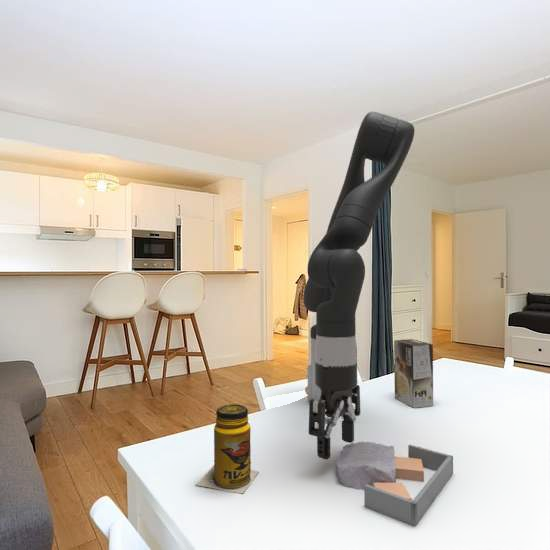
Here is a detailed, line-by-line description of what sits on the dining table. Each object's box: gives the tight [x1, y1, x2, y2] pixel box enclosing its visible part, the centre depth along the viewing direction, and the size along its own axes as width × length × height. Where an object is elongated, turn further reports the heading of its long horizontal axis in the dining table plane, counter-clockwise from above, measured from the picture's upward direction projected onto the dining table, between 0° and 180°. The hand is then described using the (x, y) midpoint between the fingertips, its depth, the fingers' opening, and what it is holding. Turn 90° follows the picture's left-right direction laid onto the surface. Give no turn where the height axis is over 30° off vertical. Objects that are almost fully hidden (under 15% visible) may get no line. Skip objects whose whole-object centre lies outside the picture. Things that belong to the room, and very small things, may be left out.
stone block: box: [335, 441, 397, 491], centre depth 69 cm, size 12×5×10 cm
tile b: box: [394, 455, 425, 483], centre depth 68 cm, size 4×4×2 cm
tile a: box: [373, 481, 413, 500], centre depth 60 cm, size 4×4×2 cm
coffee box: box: [393, 338, 434, 409], centre depth 106 cm, size 9×6×16 cm
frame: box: [363, 444, 454, 527], centre depth 63 cm, size 8×18×3 cm, turn 141°
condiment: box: [194, 403, 260, 494], centre depth 67 cm, size 7×8×12 cm
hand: (336, 449), depth 72 cm, fingers open, 8 cm apart
